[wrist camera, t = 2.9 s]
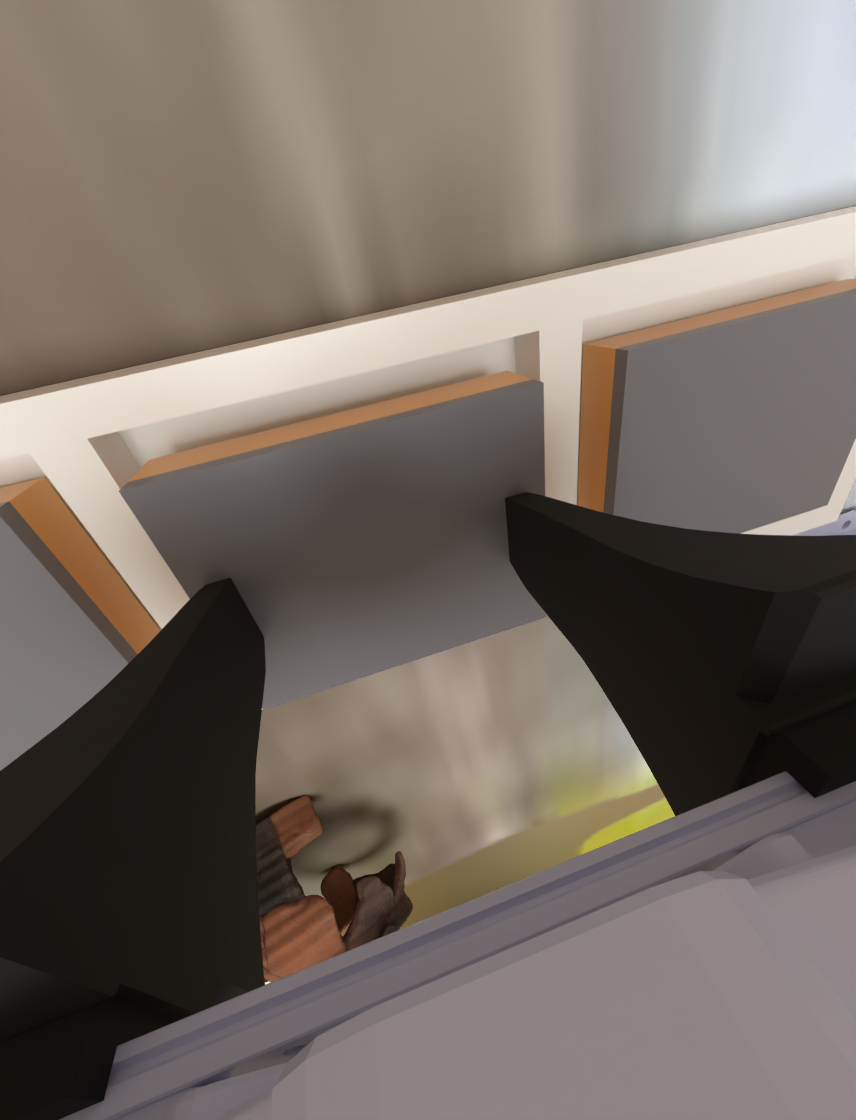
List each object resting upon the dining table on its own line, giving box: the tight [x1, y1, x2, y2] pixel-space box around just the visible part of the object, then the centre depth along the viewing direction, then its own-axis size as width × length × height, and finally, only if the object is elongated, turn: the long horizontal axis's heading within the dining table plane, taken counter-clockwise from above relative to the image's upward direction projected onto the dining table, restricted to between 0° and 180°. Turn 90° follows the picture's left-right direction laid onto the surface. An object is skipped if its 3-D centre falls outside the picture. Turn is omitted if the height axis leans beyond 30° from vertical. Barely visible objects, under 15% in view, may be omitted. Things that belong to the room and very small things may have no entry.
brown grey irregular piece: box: [256, 795, 413, 982], centre depth 23 cm, size 12×10×8 cm
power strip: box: [0, 206, 856, 710], centre depth 13 cm, size 45×11×3 cm, turn 100°
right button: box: [578, 279, 856, 534], centre depth 14 cm, size 9×7×2 cm
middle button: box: [119, 371, 547, 710], centre depth 12 cm, size 9×7×2 cm
